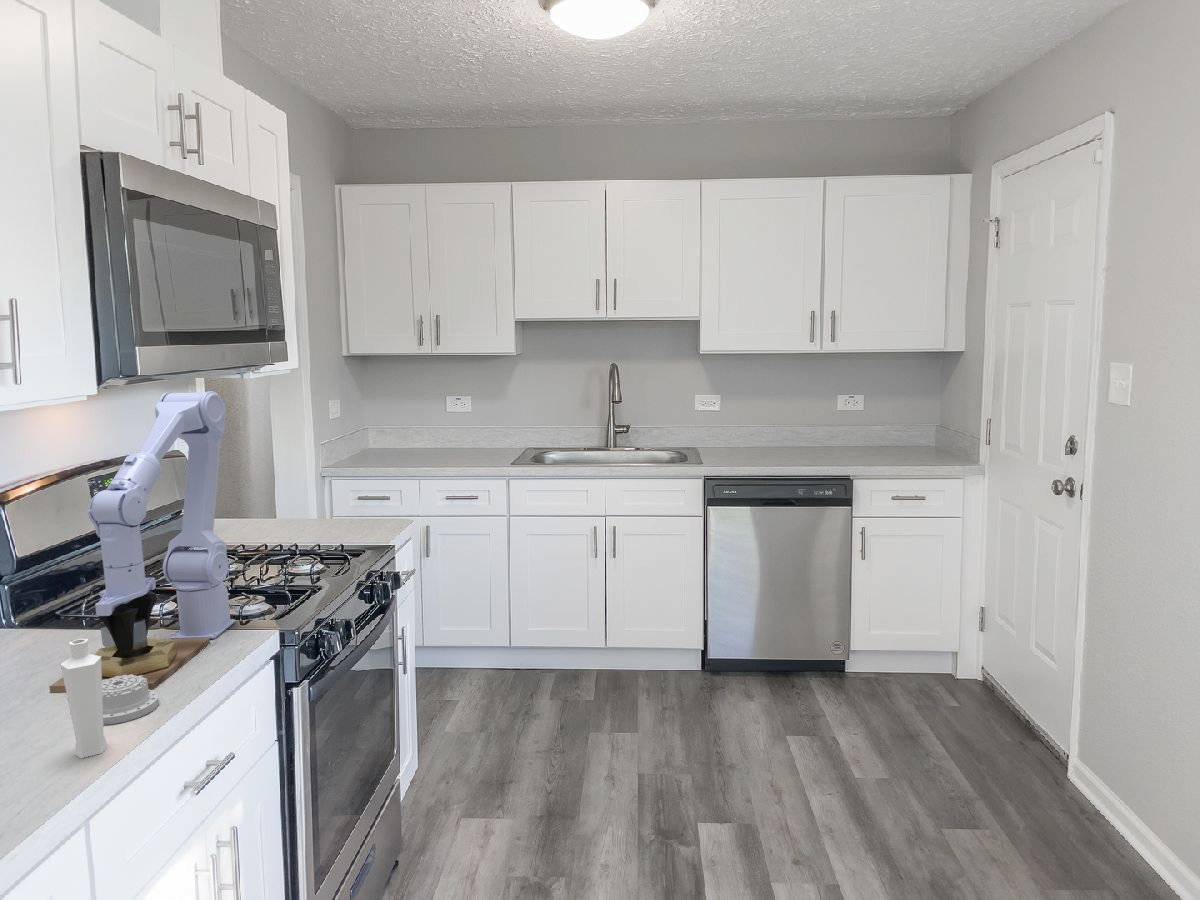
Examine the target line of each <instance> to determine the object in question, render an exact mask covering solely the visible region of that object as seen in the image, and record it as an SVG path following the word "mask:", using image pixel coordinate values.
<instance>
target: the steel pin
mask: <svg viewBox="0 0 1200 900" xmlns="http://www.w3.org/2000/svg"><path fill="white" fill-rule="evenodd" d="M147 638H148V633H146V624H145V618H141V617H135V621H134V628H133V648H132V649H131V650H129V651H120V654H121V658H131V657H135V656H139V655H143V654H147V653H148V643H147Z"/></svg>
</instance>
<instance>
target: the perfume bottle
mask: <svg viewBox="0 0 1200 900" xmlns="http://www.w3.org/2000/svg"><path fill="white" fill-rule="evenodd" d="M88 641H89V639H88V638H79V639H75V640H72V641H69V642H68V643H69V645H70V653H71V657H69V658H68V659H66V660H65V661H62V662H61V663H60V667H61V673H62V678H63V679H64V684H65V689H66V692H65V694H66V698H67V702H68V707H69V712H70V716H71V723H72V729H73V732H74V737H75V747H74V755H76V756H77V757H78V758H80V759H83V758H84V757H85V758H88V756H89V757H93V756H98V755H101V754H103V753H104V752H105V750H107V748H108V746H109V744H108V742H107V739H106V738H105V735H104V725H103V703H102V671H101V656H96V655H95V654H91V653H89V647H88V645H89V644H88ZM103 751H104V752H103ZM97 754H98V755H97ZM92 755H93V756H92ZM85 758H84V759H85Z"/></svg>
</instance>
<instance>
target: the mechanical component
mask: <svg viewBox="0 0 1200 900" xmlns="http://www.w3.org/2000/svg"><path fill="white" fill-rule="evenodd" d="M159 700H160V699H159V693H157V692H156V691H155V690H153V689H150V690H148V682H147V678H143V675H140V676H135V675H133V674H130V675H123V676H116V677H113V678H110V679H104V680H102V703H103V726H104V725H115V724H121V723H126V722H129V721H132V720H136V719H138V718H141V717H144V716H145V715H147V714H150V713H152V712H153V711H154V710H155V709H156V708H158V706H159V704H160V702H159Z"/></svg>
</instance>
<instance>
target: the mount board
mask: <svg viewBox="0 0 1200 900" xmlns="http://www.w3.org/2000/svg"><path fill="white" fill-rule="evenodd" d="M163 640H175V641H176V644H177V653H176V655H175V656H174V658H173V660H172V661H171V663H170V664H169V666H168V667H164V668H160V669H157V670H153V671H149V672H145V673H142V674H138V675H135V676H140V675H143V678H147V682H148V690H155V688H157V687H159V686H160V685H161V684H162V683H163V682H164V681H166V680H167V679H168V678H170V677H171V676H172V675H173V674H174V673H175V671H176V672H177V671H178V670H179V669H181V668H182V667H183V666H185V665H186V664H187V663H188V662H190V660H192V659H193V658H194V657H195V656H196V654H197V653H198V652H199V651H200V650H201V651H203V650H204V649H205V648H207V647H208V646H209V645H210V644H211V641H210V640H211V639H209V638H198V639H171V638H168V639H164V638H163ZM208 644H209V645H208ZM207 645H208V646H207ZM204 647H205V648H204ZM203 648H204V649H203ZM202 649H203V650H202ZM201 651H200V652H201ZM200 652H199V653H200ZM199 653H198V654H199ZM198 654H197V655H198ZM191 658H192V659H191ZM110 678H112V677H102V680H104V679H110ZM165 679H166V680H165ZM159 684H160V685H159ZM49 693H66V689H65V684H64V679H63V677H61V678H60V679H59V680H57V681H55V682H54V683H52V684H51V685H49Z"/></svg>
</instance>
